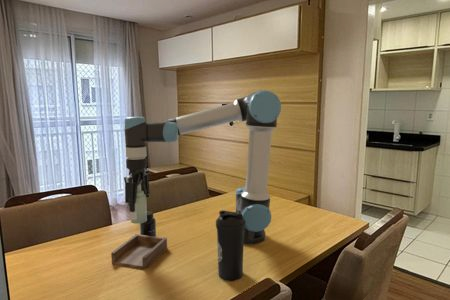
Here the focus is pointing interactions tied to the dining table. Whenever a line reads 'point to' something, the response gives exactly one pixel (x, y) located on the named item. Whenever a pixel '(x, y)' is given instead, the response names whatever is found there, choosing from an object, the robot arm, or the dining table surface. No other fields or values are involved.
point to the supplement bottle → (148, 225)
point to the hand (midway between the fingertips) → (138, 216)
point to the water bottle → (230, 244)
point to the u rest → (139, 251)
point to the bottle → (140, 206)
